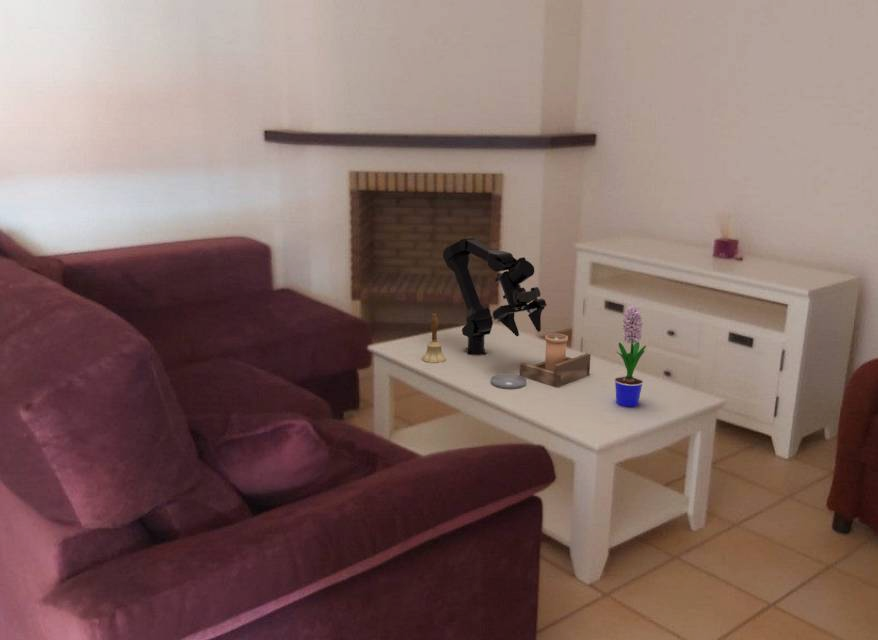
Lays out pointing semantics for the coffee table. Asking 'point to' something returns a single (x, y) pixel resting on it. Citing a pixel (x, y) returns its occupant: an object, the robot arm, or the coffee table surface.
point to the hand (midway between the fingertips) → (528, 333)
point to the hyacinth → (630, 360)
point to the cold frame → (558, 371)
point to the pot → (555, 350)
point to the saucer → (508, 381)
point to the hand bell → (434, 345)
